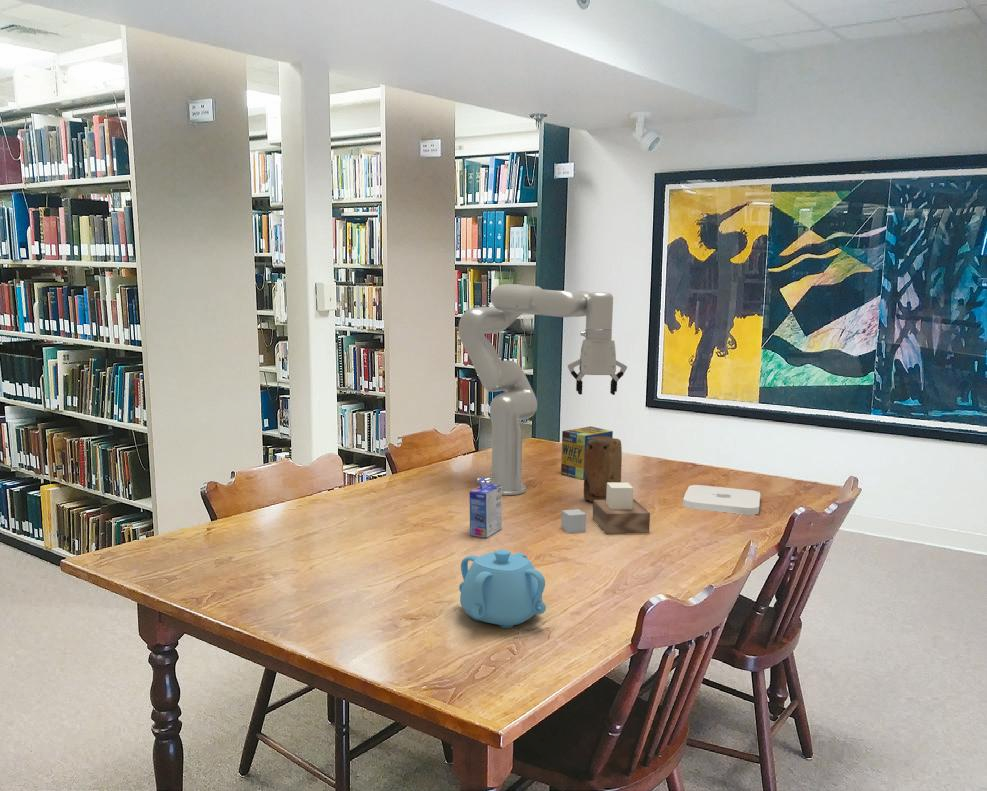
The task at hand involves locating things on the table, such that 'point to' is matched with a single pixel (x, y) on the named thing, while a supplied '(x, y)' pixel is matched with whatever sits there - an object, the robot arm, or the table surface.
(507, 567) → the decorative pot
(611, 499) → the cream block
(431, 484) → the table surface
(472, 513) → the ink cartridge box
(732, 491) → the computer
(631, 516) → the walnut block
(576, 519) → the grey block
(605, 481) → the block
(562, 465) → the protein box
